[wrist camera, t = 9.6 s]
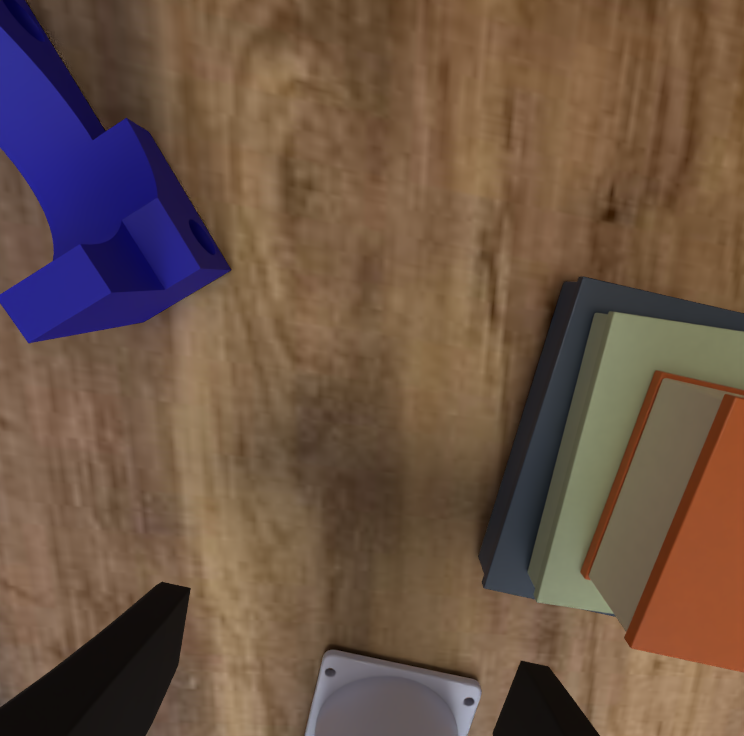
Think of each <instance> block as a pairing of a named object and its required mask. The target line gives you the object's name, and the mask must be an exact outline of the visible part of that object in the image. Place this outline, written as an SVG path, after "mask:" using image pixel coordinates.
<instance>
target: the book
mask: <svg viewBox="0 0 744 736" xmlns="http://www.w3.org/2000/svg"><path fill="white" fill-rule="evenodd" d="M580 572H581V574H582V576H583V577H584V579H587V580H591V581H592V583H593V584H594V585H595V587H596V588H597V590H598V591H599V593H600V594H601V596H602V597H603V599H604V600H605V602H606V603H607V604H608V606H609V607H610V609H611V610H612V612H613V613H614V615H615V616H616V618H617V619H618V621H619V622H620V623H621V625H622V626H623V628H624V629H625V631H626V634H625V637H624V638H625V640H626V642H627V643H628V645H629V646H630V647H631V648H632V649H637V650H642V651H646V652H651V653H656V654H660V655H665V656H670V657H674V658H679V659H684V660H688V661H693V662H698V663H702V664H707V665H712V666H716V667H721V668H726V669H730V670H735V671H739V672H744V390H742V389H738V388H733V387H729V386H724V385H720V384H715V383H711V382H707V381H702V380H698V379H693V378H689V377H685V376H680V375H676V374H671V373H667V372H663V371H658V370H656V371H655V373H654V375H653V378H652V381H651V383H650V386H649V389H648V391H647V394H646V397H645V399H644V402H643V405H642V408H641V410H640V413H639V416H638V418H637V421H636V424H635V426H634V429H633V432H632V434H631V437H630V440H629V442H628V445H627V448H626V451H625V453H624V456H623V459H622V461H621V464H620V467H619V469H618V472H617V475H616V477H615V480H614V483H613V485H612V488H611V491H610V494H609V496H608V499H607V502H606V504H605V507H604V510H603V512H602V515H601V518H600V520H599V523H598V526H597V528H596V531H595V534H594V537H593V539H592V542H591V545H590V547H589V550H588V553H587V555H586V558H585V561H584V563H583V566H582V569H581V571H580Z"/></svg>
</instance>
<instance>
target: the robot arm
mask: <svg viewBox="0 0 744 736" xmlns="http://www.w3.org/2000/svg"><path fill="white" fill-rule="evenodd" d="M190 589H191V588H188V587H183V586H179V585H174V584H169V583H165V582H161V583H159V584H158V585H156V586H155V587H154V588H152V589H151V590H150V591H149V592H148V593H147V594H145V595H144V596H143V597H142V598H141V599H140V600H138V601H137V602H136V603H135V604H134V605H133V606H131V607H130V608H129V609H128V610H127V611H125V612H124V613H123V614H122V615H121V616H119V617H118V618H117V619H116V620H114V621H113V622H112V623H111V624H110V625H108V626H107V627H106V628H105V629H103V630H102V631H101V632H100V633H99V634H97V635H96V636H95V637H93V638H92V639H91V640H90V641H88V642H87V643H86V644H85V645H83V646H82V647H81V648H79V649H78V650H77V651H76V652H74V653H73V654H72V655H70V656H69V657H68V658H67V659H65V660H64V661H63V662H61V663H60V664H59V665H58V666H56V667H55V668H54V669H52V670H51V671H50V672H48V673H47V674H46V675H44V676H43V677H42V678H40V679H39V680H37V681H36V682H35V683H33V684H32V685H31V686H29V687H28V688H26V689H25V690H24V691H22V692H21V693H19V694H18V695H17V696H15V697H14V698H13V699H11V700H10V701H8V702H7V703H6V704H4V705H3V706H2V707H0V736H145V735H146V734H147V732H148V730H149V728H150V726H151V724H152V723H153V720H154V718H155V716H156V714H157V712H158V709H159V707H160V705H161V703H162V701H163V698H164V696H165V694H166V692H167V689H168V687H169V685H170V683H171V680H172V678H173V676H174V674H175V671H176V669H177V667H178V663H179V657H180V651H181V645H182V639H183V632H184V626H185V620H186V614H187V607H188V601H189V595H190ZM328 668H332V669H333V670H330V669H328ZM481 692H482V691H481V687H480V684H479V682H478V681H477V680H474V679H471V678H466V677H461V676H457V675H452V674H447V673H442V672H438V671H433V670H428V669H424V668H419V667H414V666H409V665H405V664H400V663H395V662H391V661H386V660H381V659H376V658H372V657H367V656H362V655H357V654H353V653H348V652H343V651H339V650H328V651H327V652H325V653H324V655H323V659H322V663H321V667H320V672H319V676H318V680H317V684H316V688H315V693H314V697H313V701H312V705H311V709H310V714H309V718H308V722H307V726H306V731H305V735H304V736H467V735H468V732H469V729H470V726H471V724H472V721H473V718H474V715H475V712H476V709H477V706H478V703H479V700H480V697H481ZM467 697H470V698H467ZM493 736H600V735H599V734H598V732H597V731H596V730H595V728H594V727H593V726H592V724H591V723H590V722H589V720H588V719H587V717H586V716H585V715H584V713H583V712H582V711H581V709H580V708H579V707H578V705H577V704H576V702H575V701H574V700H573V698H572V697H571V696H570V694H569V693H568V692H567V690H566V689H565V688H564V686H563V685H562V684H561V682H560V681H559V680H558V678H557V677H556V676H555V674H554V673H553V672H552V671H551V669H550V668H549V667H548V666H543V665H539V664H534V663H530V662H525V661H521V662H520V665H519V667H518V670H517V672H516V675H515V677H514V680H513V682H512V685H511V687H510V690H509V693H508V695H507V698H506V700H505V703H504V705H503V708H502V710H501V713H500V716H499V718H498V721H497V723H496V726H495V728H494V731H493Z"/></svg>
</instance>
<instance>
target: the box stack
mask: <svg viewBox="0 0 744 736" xmlns="http://www.w3.org/2000/svg"><path fill="white" fill-rule="evenodd" d="M656 370H658V371H663V372H667V373H671V374H676V375H680V376H685V377H689V378H693V379H698V380H702V381H707V382H711V383H715V384H720V385H724V386H729V387H733V388H738V389H742V390H744V313H740V312H735V311H731V310H727V309H722V308H718V307H714V306H709V305H705V304H701V303H696V302H692V301H688V300H683V299H679V298H675V297H670V296H666V295H662V294H657V293H653V292H649V291H644V290H640V289H635V288H631V287H627V286H622V285H618V284H614V283H609V282H605V281H601V280H596V279H592V278H588V277H579V278H578V281H577V282H567V281H566V282H564V283H563V286H562V289H561V293H560V296H559V299H558V302H557V305H556V309H555V312H554V315H553V318H552V321H551V325H550V328H549V331H548V334H547V337H546V341H545V344H544V347H543V350H542V354H541V357H540V360H539V363H538V366H537V370H536V373H535V376H534V379H533V382H532V386H531V389H530V392H529V395H528V398H527V402H526V405H525V408H524V411H523V414H522V418H521V421H520V424H519V427H518V431H517V434H516V437H515V440H514V443H513V447H512V450H511V453H510V456H509V459H508V463H507V466H506V469H505V472H504V475H503V479H502V482H501V485H500V488H499V491H498V495H497V498H496V501H495V504H494V508H493V511H492V514H491V517H490V520H489V524H488V527H487V530H486V533H485V536H484V540H483V543H482V546H481V549H480V552H479V556H478V557H479V560H480V563H481V566H482V569H483V572H484V577H483V580H482V585H483V588H485V589H490V590H494V591H499V592H503V593H508V594H513V595H517V596H522V597H527V598H531V599H535V600H536V602H538V603H545V604H551V605H558V606H565V607H571V608H578V609H582V610H587V611H592V612H596V613H601V614H605V615H610V616H615V615H614V613H613V612H612V610H611V609H610V607H609V606H608V604H607V603H606V602H605V600H604V599H603V597H602V596H601V594H600V593H599V591H598V590H597V588H596V587H595V585H594V584H593V583H592V581H591V580H587V579H584V577H583V576H582V574H581V572H580V571H581V569H582V566H583V563H584V561H585V558H586V555H587V553H588V550H589V547H590V545H591V542H592V539H593V537H594V534H595V531H596V528H597V526H598V523H599V520H600V518H601V515H602V512H603V510H604V507H605V504H606V502H607V499H608V496H609V494H610V491H611V488H612V485H613V483H614V480H615V477H616V475H617V472H618V469H619V467H620V464H621V461H622V459H623V456H624V453H625V451H626V448H627V445H628V442H629V440H630V437H631V434H632V432H633V429H634V426H635V424H636V421H637V418H638V416H639V413H640V410H641V408H642V405H643V402H644V399H645V397H646V394H647V391H648V389H649V386H650V383H651V381H652V378H653V375H654V373H655V371H656ZM615 617H616V616H615Z"/></svg>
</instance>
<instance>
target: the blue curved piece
mask: <svg viewBox="0 0 744 736" xmlns="http://www.w3.org/2000/svg"><path fill="white" fill-rule="evenodd" d="M0 148H1V149H2V150H3V151H4V152H5V153H6V155H7V156H8V157H9V158H10V160H11V161H12V162H13V163H14V165H15V166H16V167H17V169H18V170H19V171H20V173H21V174H22V175H23V177H24V178H25V180H26V181H27V183H28V184H29V186H30V187H31V189H32V190H33V192H34V194H35V196H36V197H37V199H38V201H39V203H40V205H41V207H42V209H43V211H44V213H45V215H46V218H47V221H48V223H49V226H50V230H51V233H52V238H53V244H54V256H53V261H52V262H51V263H49V264H48V265H46V266H44V267H43V268H41V269H40V270H38V271H37V272H35V273H33V274H32V275H30V276H29V277H27V278H25V279H24V280H22V281H21V282H19V283H18V284H16V285H14V286H13V287H11V288H10V289H8V290H7V291H5V292H3V293H2V294H0V304H1V305H2V306H3V308H4V309H5V311H6V312H7V313H8V315H9V316H10V318H11V319H12V321H13V322H14V323H15V325H16V326H17V328H18V329H19V330H20V332H21V333H22V335H23V336H24V337H25V339H26V340H27V342H28V343H33V342H38V341H44V340H49V339H54V338H60V337H65V336H71V335H76V334H82V333H87V332H93V331H98V330H104V329H109V328H115V327H120V326H126V325H131V324H137V323H142V322H145V321H146V320H148V319H150V318H151V317H153V316H155V315H156V314H158V313H160V312H162V311H163V310H165V309H167V308H168V307H170V306H172V305H173V304H175V303H177V302H178V301H180V300H182V299H184V298H185V297H187V296H189V295H190V294H192V293H194V292H195V291H197V290H199V289H200V288H202V287H204V286H206V285H207V284H209V283H211V282H212V281H214V280H216V279H217V278H219V277H221V276H222V275H224V274H226V273H228V272H229V271H231V269H230V267H229V265H228V264H227V262H226V260H225V259H224V257H223V255H222V254H221V252H220V250H219V249H218V247H217V245H216V244H215V242H214V240H213V239H212V237H211V235H210V234H209V232H208V230H207V228H206V227H205V225H204V223H203V222H202V220H201V218H200V217H199V215H198V213H197V212H196V210H195V208H194V207H193V205H192V203H191V202H190V200H189V198H188V197H187V195H186V193H185V192H184V190H183V188H182V187H181V185H180V183H179V182H178V180H177V178H176V176H175V175H174V173H173V171H172V170H171V168H170V166H169V165H168V163H167V161H166V160H165V158H164V156H163V155H162V153H161V151H160V150H159V148H158V146H157V145H156V143H155V141H154V140H153V138H152V136H151V135H150V133H149V132H148V131H147V130H145V129H143V128H142V127H140V126H139V125H137V124H135V123H134V122H132V121H130V120H129V119H127V118H125V119H124V120H122V121H121V122H119V123H118V124H116V125H115V126H113V127H112V128H110V129H109V130H107V131H106V132H105V130H104V128H103V127H102V125H101V124H100V122H99V120H98V119H97V117H96V115H95V114H94V112H93V110H92V109H91V107H90V106H89V104H88V102H87V101H86V99H85V97H84V96H83V94H82V93H81V91H80V89H79V88H78V86H77V84H76V83H75V81H74V80H73V78H72V76H71V75H70V73H69V71H68V70H67V68H66V66H65V65H64V63H63V62H62V60H61V58H60V57H59V55H58V53H57V52H56V50H55V49H54V47H53V45H52V44H51V42H50V40H49V39H48V37H47V35H46V34H45V32H44V31H43V29H42V27H41V26H40V24H39V22H38V21H37V19H36V18H35V16H34V14H33V13H32V11H31V9H30V8H29V6H28V5H27V3H26V1H25V0H0Z"/></svg>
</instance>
